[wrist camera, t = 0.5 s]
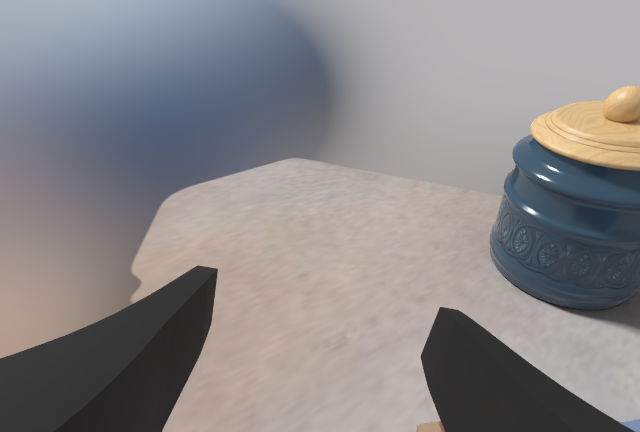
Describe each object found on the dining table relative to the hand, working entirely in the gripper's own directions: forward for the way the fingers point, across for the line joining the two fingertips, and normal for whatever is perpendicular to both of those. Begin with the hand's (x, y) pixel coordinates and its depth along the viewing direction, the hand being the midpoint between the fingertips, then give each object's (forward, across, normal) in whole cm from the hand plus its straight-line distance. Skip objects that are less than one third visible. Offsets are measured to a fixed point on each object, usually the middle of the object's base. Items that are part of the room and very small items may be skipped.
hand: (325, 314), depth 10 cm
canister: (+21, -26, +4) cm, 34 cm away
